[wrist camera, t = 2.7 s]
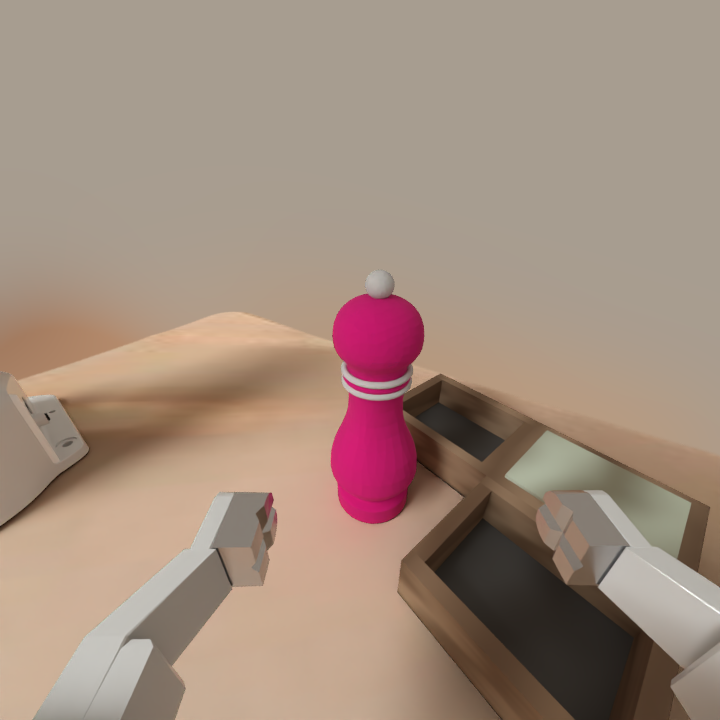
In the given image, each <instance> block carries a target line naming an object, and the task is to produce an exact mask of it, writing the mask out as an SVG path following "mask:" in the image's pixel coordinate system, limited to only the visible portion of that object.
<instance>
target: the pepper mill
mask: <svg viewBox="0 0 720 720" xmlns="http://www.w3.org/2000/svg"><path fill="white" fill-rule="evenodd" d="M365 288H366V291H367V293H368V294H364V295H360V296H357V297H355V298H353V299H352V300H350V301H348V302H347V303H346V304H345V305H344V306H343V307H342V308H341V309H340V311H339V312H338V314H337V316H336V319H335V321H334V326H333V335H332V337H333V343H334V348H335V350H336V352H337V354H338V355H339V357H340V358H341V359H342V360H343V363H342V365H341V371H342V377H341V380H342V384H343V386H344V388H345V389H346V390H347V391H348V392H349V403H348V410H347V413H346V416H345V418H344V420H343V422H342V424H341V426H340V428H339V430H338V432H337V434H336V436H335V439H334V442H333V446H332V450H331V468H332V472H333V475H334V477H335V479H336V480H337V482H338V496H339V501H340V503H341V505H342V507H343V508H344V510H345V511H346V512H347V513H348V514H349V515H350V516H351V517H353V518H355V519H357V520H359V521H361V522H365V523H370V524H374V523H382V522H386V521H389V520H391V519H393V518H394V517H395V516H397V515H398V514H399V513H400V512H401V511H402V509H403V507H404V506H405V503H406V499H407V491H408V486H409V485H410V484H411V482H412V480H413V478H414V476H415V473H416V465H417V453H416V449H415V444H414V441H413V438H412V436H411V434H410V431H409V429H408V428H407V425H406V423H405V420H404V415H403V397H404V393H406V392H407V391H408V390H409V389H410V387H411V384H412V378H411V376H412V373H413V367H412V364H411V363H412V362H413V361H414V360H415V359H416V358H417V357H418V355H419V354H420V352H421V350H422V346H423V342H424V325H423V322H422V319H421V317H420V314H419V312H418V311H417V310H416V308H415V307H414V306H413V305H412V304H411V303H409V302H408V301H406V300H405V299H403V298H401V297H399V296H396V295H392V292H393V290H394V279H393V277H392V276H391V274H390V273H388V272H387V271H384V270H376V271H373V272H372V273H370V274H369V276H368V277H367V279H366V283H365Z"/></svg>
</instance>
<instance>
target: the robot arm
mask: <svg viewBox="0 0 720 720" xmlns="http://www.w3.org/2000/svg"><path fill="white" fill-rule="evenodd" d="M88 450H89V447H88V446H87V444H86V442H85V441H84V439H83V438H82V436H81V434H80V433H79V431H78V430H77V428H76V426H75V425H74V423H73V422H72V420H71V418H70V417H69V415H68V414H67V412H66V410H65V409H64V407H63V406H62V404H61V402H60V401H59V400H58V399H57V397H56V396H55V395H40V396H32V397H27V395H26V394H25V392H24V391H23V389H22V388H21V386H20V385H19V383H18V382H17V380H16V379H15V378H14V376H13V375H12V374H9V373H5V372H0V526H1V525H2V524H4V523H5V522H6V521H8V520H9V519H11V518H12V517H13V516H15V515H16V514H17V513H18V512H20V511H21V510H22V509H23V508H25V507H26V506H27V505H28V504H29V503H30V502H32V501H33V500H34V499H35V498H36V497H37V496H38V495H39V494H40V493H41V492H42V491H43V490H44V489H45V488H46V487H47V485H48V484H49V483H50V482H51V481H52V480H53V479H54V478H55V477H56V476H57V475H59V474H60V473H61V472H63V471H64V470H66V469H67V468H68V467H70V466H71V465H73V464H74V463H76V462H77V461H78V460H80V459H81V458H82V457H83V456H85V455H86V454H87V452H88ZM543 500H544V502H545V504H544V505H543V506H541V507H540V508H538V511H537V514H536V525H537V528H538V532H539V534H540V536H541V538H542V540H543V542H544V543H545V544H546V545H547V546H549V547H550V548H551V549H552V550H553V557H552V559H553V561H554V563H555V565H556V567H557V568H558V570H559V572H560V574H561V576H562V578H563V580H564V582H565V583H566V585H599V586H598V588H599V589H600V590H601V591H602V592H603V593H604V594H605V595H606V596H607V597H608V598H610V599H611V600H612V601H613V602H614V603H615V604H616V605H617V606H618V607H619V608H620V609H621V610H622V611H623V612H624V613H625V614H626V615H627V616H628V617H629V618H631V619H632V620H633V621H634V622H635V623H636V624H637V625H638V626H639V627H640V628H641V629H642V630H643V631H644V632H645V633H646V634H647V635H648V636H649V637H650V638H652V639H653V640H654V641H655V642H656V643H657V644H658V645H659V646H660V647H661V648H662V649H663V650H664V651H665V652H666V653H667V654H668V655H669V656H670V657H672V658H673V659H674V660H675V661H676V662H677V663H678V664H679V665H680V666H681V667H682V668H683V669H684V670H683V671H682V672H681V673H679V674H678V675H677V676H676V677H674V678H673V679H672V680H671V686H670V687H671V689H672V690H673V692H674V693H675V695H676V697H677V698H678V700H679V702H680V703H681V705H682V706H683V708H684V710H685V711H686V713H687V714H688V716H689V718H690V719H691V720H720V587H718V586H717V585H715V584H714V583H712V582H711V581H709V580H708V579H706V578H705V577H703V576H702V575H700V574H699V573H697V572H695V571H694V570H692V569H691V568H689V567H688V566H686V565H685V564H683V563H682V562H680V561H679V560H677V559H676V558H674V557H672V556H671V555H669V554H668V553H666V552H665V551H663V550H662V549H660V548H659V547H652V546H651V545H650V544H649V543H648V541H647V540H646V539H645V538H644V537H643V535H642V534H641V533H640V532H639V531H638V529H637V528H636V527H635V526H634V525H633V523H632V522H631V521H630V520H629V519H628V517H627V516H626V515H625V514H624V513H623V511H622V510H621V509H620V508H619V507H618V505H617V504H616V503H615V502H614V501H613V500H612V498H611V497H610V496H609V495H608V494H607V493H605V492H604V491H602V490H553V491H548V492H546V493H545V494H544V497H543ZM273 501H274V499H273V496H272V493H256V492H219V493H218V494H217V496H216V497H215V498H214V500H213V502H212V504H211V506H210V508H209V510H208V512H207V514H206V517H205V519H204V521H203V523H202V525H201V527H200V529H199V531H198V533H197V535H196V537H195V539H194V541H193V543H192V545H191V547H190V549H184V550H183V551H182V552H180V553H179V554H178V555H177V556H176V557H175V558H174V559H172V560H171V561H170V562H169V563H168V564H167V565H166V566H165V567H163V568H162V569H161V570H160V571H159V572H158V573H157V574H155V575H154V576H153V577H152V578H151V579H150V580H149V581H147V582H146V583H145V584H144V585H143V586H142V587H141V588H140V589H138V590H137V591H136V592H135V593H134V594H133V595H132V596H130V597H129V598H128V599H127V600H126V601H125V602H124V603H122V604H121V605H120V606H119V607H118V608H117V609H116V610H115V611H113V612H112V613H111V614H110V615H109V616H108V617H107V618H105V619H104V620H103V621H102V622H101V623H100V624H99V625H97V626H96V627H95V628H94V629H93V630H92V631H91V632H90V633H88V634H87V635H86V636H85V637H84V639H83V640H82V642H81V643H80V645H79V647H78V648H77V650H76V651H75V653H74V654H73V656H72V658H71V659H70V661H69V662H68V664H67V666H66V667H65V669H64V670H63V672H62V674H61V675H60V677H59V678H58V680H57V682H56V683H55V685H54V686H53V688H52V690H51V691H50V693H49V694H48V696H47V698H46V699H45V701H44V702H43V704H42V705H41V707H40V709H39V710H38V712H37V713H36V715H35V717H34V718H33V720H175V718H176V715H177V712H178V709H179V706H180V703H181V700H182V697H183V694H184V691H185V689H186V688H185V685H184V681H183V680H182V679H181V677H180V676H179V675H178V674H177V672H176V671H175V670H174V669H173V667H172V665H173V664H174V663H175V661H176V660H177V659H178V657H179V656H180V655H181V654H182V652H183V651H184V650H185V649H186V647H187V646H188V645H189V643H190V642H191V641H192V640H193V638H194V637H195V636H196V635H197V633H198V632H199V631H200V629H201V628H202V627H203V626H204V624H205V623H206V622H207V620H208V619H209V618H210V617H211V615H212V614H213V613H214V612H215V610H216V609H217V608H218V606H219V605H220V604H221V603H222V601H223V600H224V599H225V598H226V596H227V595H228V594H229V592H230V591H231V590H232V587H243V586H263V584H264V580H265V576H266V572H267V568H268V564H269V556H268V552H267V550H268V549H269V548H270V547H271V546H272V545H273V544H274V540H275V535H276V529H277V513H276V510H275V509H274V508H273V507H272V504H273Z"/></svg>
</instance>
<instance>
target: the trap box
mask: <svg viewBox="0 0 720 720" xmlns="http://www.w3.org/2000/svg"><path fill="white" fill-rule="evenodd" d="M403 415H404V420H405V423H406V425H407V428H408V429H409V431H410V434H411V436H412V438H413V441H414V444H415V449H416V453H417V461H418V462H420V463H421V464H422V465H424V466H425V467H426V468H427V469H429V470H430V471H431V472H433V473H434V474H435V475H436V476H438V477H439V478H440V479H442V480H443V481H444V482H445V483H447V484H448V485H449V486H451V487H452V488H453V489H454V490H456V491H457V492H458V493H460V494H461V495H462V496H463V497H465V498H464V499H463V500H462V501H461V502H460V503H459V504H458V505H457V506H456V507H455V508H454V509H453V510H452V511H451V512H450V513H449V514H448V515H447V516H446V517H445V518H444V519H443V520H442V521H441V522H440V523H439V524H438V525H437V526H436V527H435V528H434V529H433V530H431V531H430V532H429V533H428V534H427V535H426V536H425V537H424V538H423V539H422V540H421V541H420V542H419V543H418V544H417V545H416V546H415V547H414V548H413V549H412V550H411V551H410V552H409V553H408V554H407V555H406V556H405V557H404V558H403V559H402V561H401V569H400V576H399V584H398V593H399V595H400V596H401V597H402V598H403V600H404V601H405V602H406V603H407V604H408V606H409V607H410V608H411V609H412V611H413V612H414V613H415V614H416V615H417V617H418V618H419V619H420V620H421V622H422V623H423V624H424V625H425V626H426V628H427V629H428V630H429V631H430V632H431V634H432V635H433V636H434V637H435V639H436V640H437V641H438V642H439V643H440V645H441V646H442V647H443V648H444V650H445V651H446V652H447V653H448V654H449V656H450V657H451V658H452V659H453V661H454V662H455V663H456V664H457V665H458V667H459V668H460V669H461V670H462V672H463V673H464V674H465V675H466V676H467V678H468V679H469V680H470V681H471V683H472V684H473V685H474V686H475V687H476V689H477V690H478V691H479V692H480V694H481V695H482V696H483V697H484V698H485V700H486V701H487V702H488V703H489V705H490V706H491V707H492V708H493V709H494V711H495V712H496V713H497V714H498V716H499V717H500V718H501V719H502V720H669V716H670V711H671V705H672V700H673V695H674V692H673V690H672V689H671V687H670V686H671V680H672V679H673V678H674V677H676V676H677V675H678V669H679V664H678V663H677V662H676V661H675V660H674V659H673V658H672V657H670V656H669V655H668V654H667V653H666V652H665V651H664V650H663V649H662V648H661V647H660V646H659V645H658V644H657V643H656V642H655V641H654V640H653V639H652V638H650V637H649V636H648V635H647V634H646V633H645V632H644V631H643V630H642V629H641V628H640V627H639V626H638V625H637V624H636V623H635V622H634V621H633V620H632V619H631V618H629V617H628V616H627V615H626V614H625V613H624V612H623V611H622V610H621V609H620V608H619V607H618V606H617V605H616V604H615V603H614V602H613V601H612V600H611V599H610V598H608V597H607V596H606V595H605V594H604V593H603V592H602V591H601V590H600V589H599V588H598V586H599V585H566V583H565V582H564V580H563V578H562V576H561V574H560V572H559V570H558V568H557V567H556V565H555V563H554V561H553V559H552V557H553V550H552V549H551V548H550V547H549V546H547V545H546V544H545V543H544V542H543V540H542V538H541V536H540V534H539V532H538V528H537V525H536V514H537V511H538V508H540V507H541V506H543V505H544V504H545V502H544V500H543V497H544V494H545V493H546V492H548V491H553V490H602V491H604V492H605V493H607V494H608V495H609V496H610V497H611V498H612V500H613V501H614V502H615V503H616V504H617V505H618V507H619V508H620V509H621V510H622V511H623V513H624V514H625V515H626V516H627V517H628V519H629V520H630V521H631V522H632V523H633V525H634V526H635V527H636V528H637V529H638V531H639V532H640V533H641V534H642V535H643V537H644V538H645V539H646V540H647V541H648V543H649V544H650V545H651V546H652V547H659V548H660V549H662V550H663V551H665V552H666V553H668V554H669V555H671V556H672V557H674V558H676V559H677V560H679V561H680V562H682V563H683V564H685V565H686V566H688V567H689V568H691V569H692V570H694V571H695V572H698V567H699V562H700V556H701V551H702V546H703V541H704V536H705V531H706V526H707V520H708V515H709V510H710V507H709V506H707V505H705V504H703V503H701V502H699V501H697V500H695V499H693V498H691V497H689V496H687V495H685V494H683V493H681V492H679V491H677V490H675V489H673V488H671V487H669V486H667V485H664V484H662V483H660V482H658V481H656V480H654V479H652V478H650V477H648V476H646V475H644V474H642V473H640V472H638V471H636V470H634V469H632V468H630V467H628V466H626V465H624V464H622V463H620V462H618V461H616V460H614V459H612V458H610V457H608V456H606V455H604V454H602V453H600V452H598V451H596V450H594V449H592V448H590V447H588V446H586V445H584V444H582V443H580V442H578V441H576V440H574V439H572V438H570V437H568V436H566V435H564V434H562V433H559V432H557V431H555V430H553V429H551V428H549V427H547V426H545V425H543V424H541V423H539V422H537V421H535V420H533V419H531V418H529V417H527V416H525V415H523V414H521V413H519V412H517V411H515V410H513V409H511V408H509V407H507V406H505V405H503V404H501V403H499V402H497V401H495V400H493V399H491V398H489V397H487V396H485V395H483V394H481V393H479V392H477V391H475V390H473V389H471V388H469V387H467V386H465V385H463V384H461V383H459V382H457V381H455V380H452V379H450V378H448V377H446V376H444V375H442V374H439V375H437V376H436V377H434V378H432V379H430V380H428V381H426V382H425V383H423V384H421V385H419V386H417V387H416V388H414V389H412V390H410V391H408V392H406V393H405V394H404V397H403Z"/></svg>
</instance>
